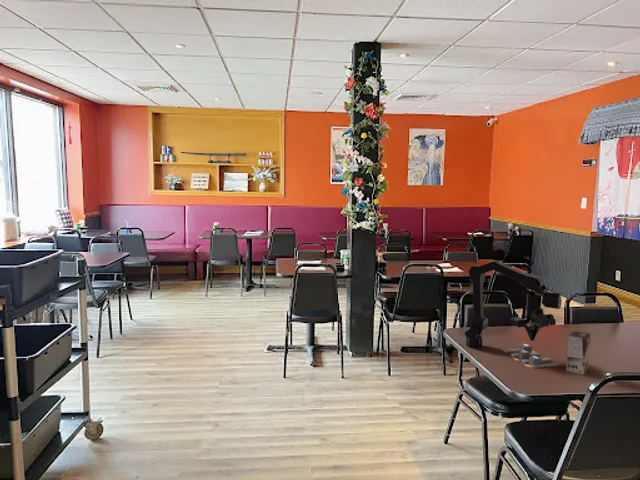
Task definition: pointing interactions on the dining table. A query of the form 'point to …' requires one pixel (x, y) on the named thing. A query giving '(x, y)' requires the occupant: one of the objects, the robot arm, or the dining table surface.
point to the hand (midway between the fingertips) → (531, 340)
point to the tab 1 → (526, 347)
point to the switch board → (528, 359)
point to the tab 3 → (535, 360)
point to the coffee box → (578, 352)
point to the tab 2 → (523, 355)
